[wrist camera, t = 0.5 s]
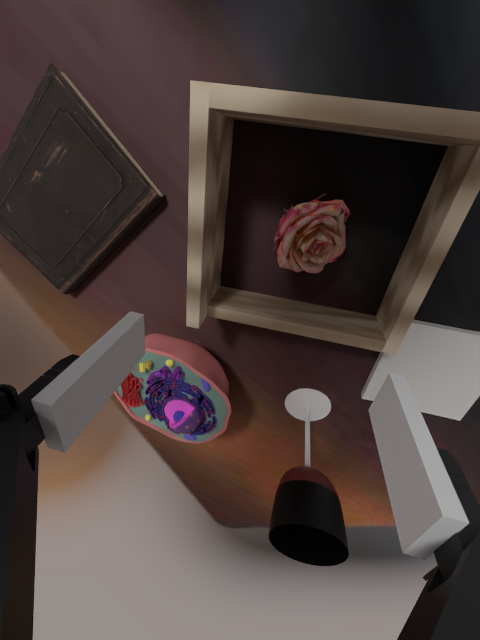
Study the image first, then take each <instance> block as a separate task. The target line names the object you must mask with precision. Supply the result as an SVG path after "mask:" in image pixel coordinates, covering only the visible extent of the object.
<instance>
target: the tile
mask: <svg viewBox="0 0 480 640" xmlns="http://www.w3.org/2000/svg"><path fill="white" fill-rule="evenodd" d="M389 373H393V374H397V375H401V376H405V378H406V380H407V382H408V384H409V387H410V389H411V391H412V393H413V396H414V398H415V400H416V403H417V405H418V407H419V409H420V412H424V413H428V414H432V415H437V416H441V417H446V418H450V419H455V420H459V421H460V420H461V419H462V417H463V416H464V415H465V414H466V412H467V411H468V410H469V409H470V407H471V406H472V405H473V403H474V402H475V401H476V400H477V398H478V397H479V396H480V332H476V331H471V330H465V329H460V328H455V327H450V326H445V325H439V324H434V323H429V322H424V321H419V320H413V321H412V323H411V325H410V327H409V329H408V331H407V333H406V335H405V337H404V339H403V341H402V343H401V344H400V346H399V348H398V350H397V352H396V354H395V355H393V354H388V353H383V352H380V354H379V356H378V358H377V360H376V362H375V364H374V367H373V369H372V371H371V373H370V375H369V377H368V379H367V381H366V383H365V386H364V388H363V390H362V392H361V398H362V399H366V400H371V401H374V399H375V397H376V395H377V394H378V392H379V390H380V388H381V387H382V385H383V383H384V381H385V379H386V378H387V376H388V374H389Z"/></svg>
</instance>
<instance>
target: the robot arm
mask: <svg viewBox="0 0 480 640" xmlns="http://www.w3.org/2000/svg"><path fill="white" fill-rule="evenodd" d="M144 355H145V334H144V314H140V313H136V312H132V311H130V312H129V313H128V314H127V315H126V316H125V317H124V318H122V319H121V320H120V321H119V322H118V323H117V324H116V325H115V326H113V327H112V328H111V329H110V330H109V331H108V332H107V333H106V334H105V335H103V336H102V337H101V338H100V339H99V340H98V341H97V342H96V343H94V344H93V345H92V346H91V347H90V348H89V349H88V350H87V351H85V352H84V353H83V354H82V355H81V356H77V355H74V354H72V355H70V356H68V357H66V358H64V359H62V360H60V361H59V362H57V363H56V364H55V365H54V366H53V367H52V368H51V369H50V370H48V371H47V372H45V373H44V375H43V376H41V377H39V378H38V379H37V380H36V381H35V382H33V383H32V384H31V385H30V386H29V387H27V388H26V389H25V390H24V391H23V392H21V393H20V394H19V395H18V394H17V392H16V389H15V388H14V387H12V386H10V385H5V384H2V385H0V640H32V638H33V609H34V580H35V579H34V578H35V577H34V576H35V550H36V521H37V491H38V462H39V450H38V445H39V444H40V443H41V442H42V441H43V440H44V439H45V441H46V444H47V447H48V448H51V449H55V450H58V451H61V452H66V451H67V450H68V448H69V447H70V446H71V445H72V443H73V442H74V441H75V440H76V439H77V437H78V436H79V435H80V434H81V432H82V431H83V430H84V429H85V427H86V426H87V425H88V424H89V423H90V421H91V420H92V419H93V418H94V416H95V415H96V414H97V413H98V411H99V410H100V409H101V408H102V406H103V405H104V404H105V403H106V402H107V400H108V399H109V398H110V397H111V395H112V394H113V393H114V392H115V391H116V389H117V388H118V387H119V386H120V384H121V383H122V382H123V381H124V379H125V378H126V377H127V376H128V374H129V373H130V372H131V371H132V370H133V368H134V367H135V366H136V365H137V363H138V362H139V361H140V360H141V358H142V357H143V356H144ZM369 414H370V418H371V423H372V427H373V431H374V435H375V439H376V444H377V448H378V452H379V456H380V460H381V464H382V469H383V473H384V477H385V481H386V485H387V490H388V494H389V498H390V502H391V506H392V510H393V515H394V519H395V523H396V527H397V531H398V536H399V540H400V544H401V548H402V552H403V553H404V554H408V555H411V556H414V557H418V558H422V559H424V560H425V559H427V558H428V557H429V556H430V555H431V554H433V553H434V554H435V558H436V561H437V564H438V566H436V567H435V568H434V569H432V570H431V571H430V572H428V573H427V574H426V575H425V576H424V577H423V578H424V579H425V580H427V579H428V581H427V583H426V585H425V587H424V589H423V590H422V593H421V594H420V596H419V598H418V600H417V602H416V604H415V606H414V608H413V610H412V612H411V614H410V616H409V618H408V620H407V622H406V623H405V625H404V627H403V629H402V631H401V633H400V635H399V637H398V639H397V640H480V506H479V504H478V502H477V500H476V498H475V496H474V494H473V492H472V491H471V490H470V489H471V488H470V486H469V484H468V482H467V480H465V476H464V474H463V472H462V470H461V468H460V465H459V464H458V462H457V461H456V460H455V459H454V458H453V456H452V455H451V454H450V453H449V452H448V451H447V450H443V449H439V448H436V446H435V444H434V441H433V439H432V437H431V434H430V432H429V430H428V428H427V425H426V423H425V421H424V419H423V416H422V414H421V412H420V409H419V407H418V405H417V403H416V400H415V398H414V396H413V393H412V391H411V389H410V387H409V384H408V382H407V380H406V378H405V376H401V375H397V374H393V373H389V374H388V376H387V378H386V379H385V381H384V383H383V385H382V387H381V388H380V390H379V392H378V394H377V395H376V397H375V399H374V401H373V403H372V404H371V406H370V408H369Z"/></svg>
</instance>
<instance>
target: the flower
mask: <svg viewBox="0 0 480 640" xmlns="http://www.w3.org/2000/svg"><path fill="white" fill-rule="evenodd" d="M326 194H327V193H326ZM323 195H325V194H323ZM323 195H322V196H323ZM322 196H320V197H322ZM320 197H318V198H316V199H314V200H312V201H310V202H308V203H302V204H299V205H296V206H295V207H292V205H291V208H290V209H288V210H286V211H285V208H284V210H283V211H285V214H284V215H282V216H283V217H282V218H281V219H280V221H279V227H277V230H276V233H275V237H274V242H276V244H277V247H276V251H277V259H278V264H279V266H280V267H281V268H287V269H290V270H293V271H295V272H300V271H306V272H308V273H319V272H321V271H322V269H323V267H324V265H325V264H326V263H331V262H335V261H336V260H337V256H338V257H339V256H340V255H341V254H342V253H343V252H344V250H345V248H346V233H345V225H344V222H345V221H346V220H347V218H348V216H349V215H350V214H351V213H350V212H349V209H348V207H347V206H346V204H345V203H344V202H343V200H331V201H325V202H321V201H318V200H319V198H320ZM276 244H275V246H276ZM274 249H275V247H274ZM274 249H273V251H274ZM273 251H272V252H273ZM272 252H271V253H272Z"/></svg>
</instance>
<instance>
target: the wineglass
mask: <svg viewBox="0 0 480 640" xmlns="http://www.w3.org/2000/svg"><path fill="white" fill-rule="evenodd" d="M285 407H286V410H287V411H288V412H289V413H290V414H291V415H292V416H293V417H295V418H297V419H300V420H304V421H305V466H299V467H295V468H292V469H290V470H288V471H287V472H286V473H285V474H284V475H283V477H282V479H281V481H280V483H279V486H278V489H277V492H276V496H275V500H274V505H273V510H272V516H271V522H270V530H269V540H270V542H271V543H272V545H273V546H274V547H275V548H276V549H277V550H278V551H279V552H281V553H282V554H284V555H286V556H288V557H290V558H292V559H294V560H297V561H299V562H303V563H306V564H311V565H317V566H333V565H337V564H340V563H342V562H344V561H345V560H346V559H347V558H348V554H349V553H348V544H347V537H346V531H345V525H344V519H343V514H342V509H341V505H340V501H339V498H338V495H337V493H336V491H335V488H334V486H333V485H332V483H331V482H330V481H329V479H328V478H327V477H325V476H324V475H323V474H322V473H321V472H319V471H317V470H315V469H313V468H311V467H310V421H317V420H320V419H323V418H324V417H326V416H327V415H328V414H329V412H330V410H331V403H330V400H329V399H328V397H327V396H326V395H325V394H323V393H322V392H320V391H317V390H315V389H308V388H304V389H297V390H295V391H292V392H291V393H290V394H289V395H288V396H287V397H286V399H285Z"/></svg>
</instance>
